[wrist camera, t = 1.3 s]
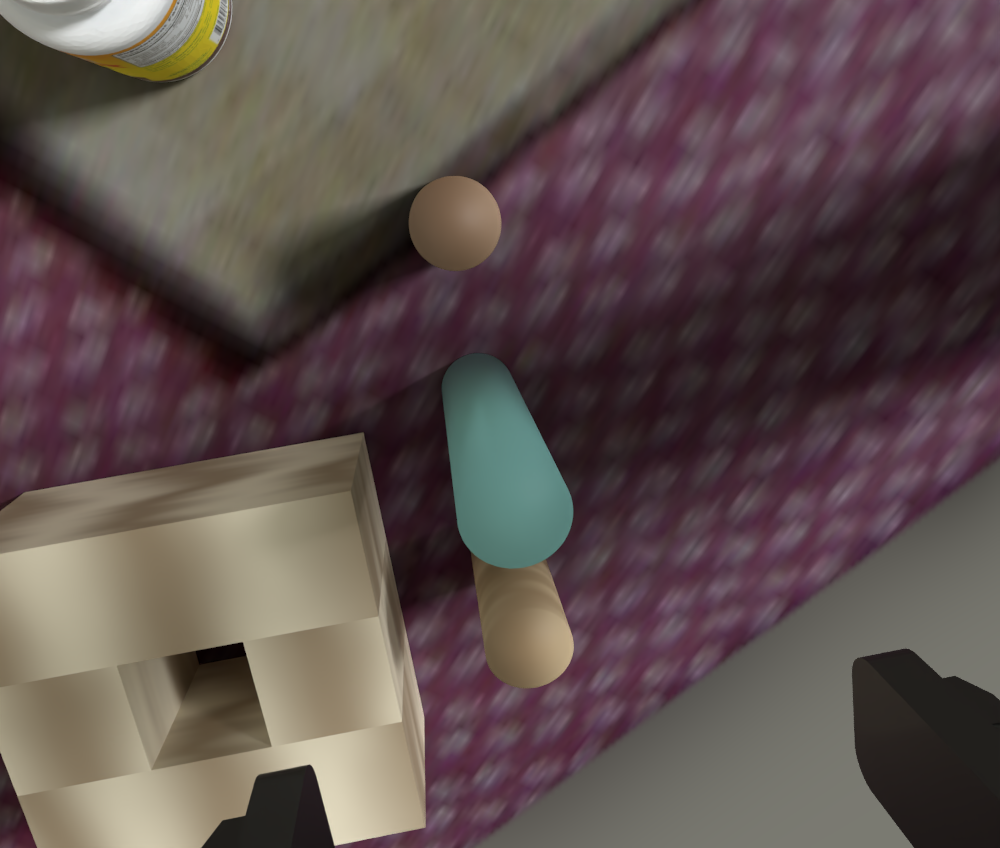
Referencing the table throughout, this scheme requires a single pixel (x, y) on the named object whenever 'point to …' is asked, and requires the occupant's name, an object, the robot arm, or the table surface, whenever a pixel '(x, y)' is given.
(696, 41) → the table surface
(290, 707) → the hole block
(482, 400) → the long pin
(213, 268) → the table surface
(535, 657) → the medium pin
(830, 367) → the table surface
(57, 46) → the supplement bottle
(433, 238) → the short pin
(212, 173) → the table surface
